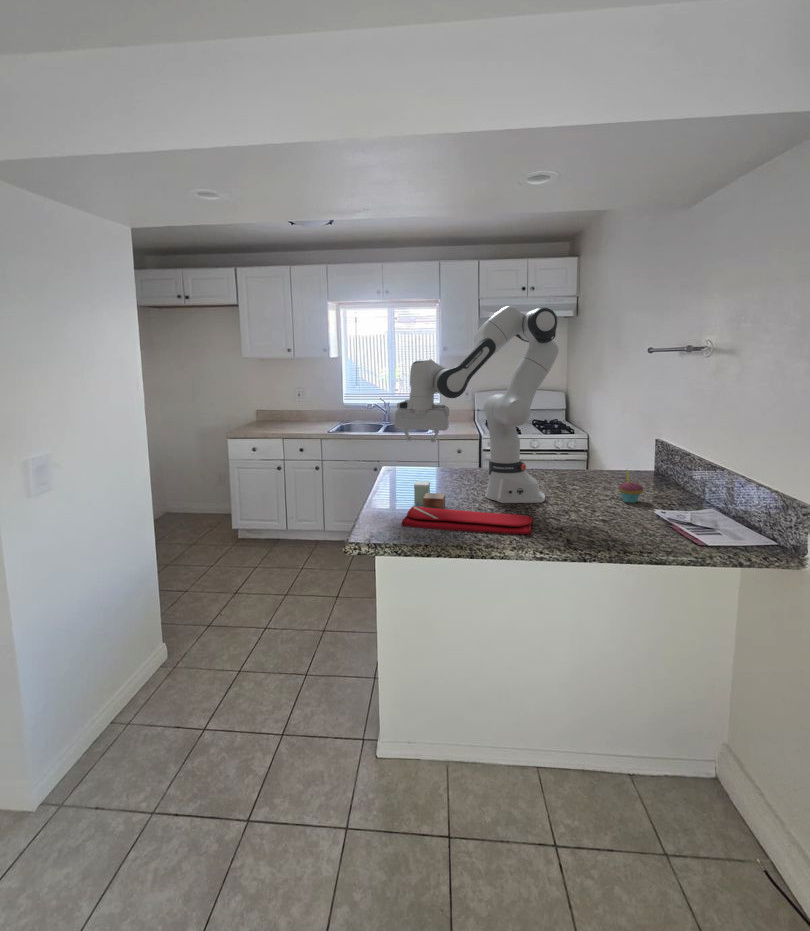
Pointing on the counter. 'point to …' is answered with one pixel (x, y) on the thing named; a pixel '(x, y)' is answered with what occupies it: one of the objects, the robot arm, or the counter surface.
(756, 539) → the counter surface
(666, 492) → the counter surface
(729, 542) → the counter surface
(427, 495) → the walnut block
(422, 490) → the sage tin
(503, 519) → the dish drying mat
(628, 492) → the cupcake
